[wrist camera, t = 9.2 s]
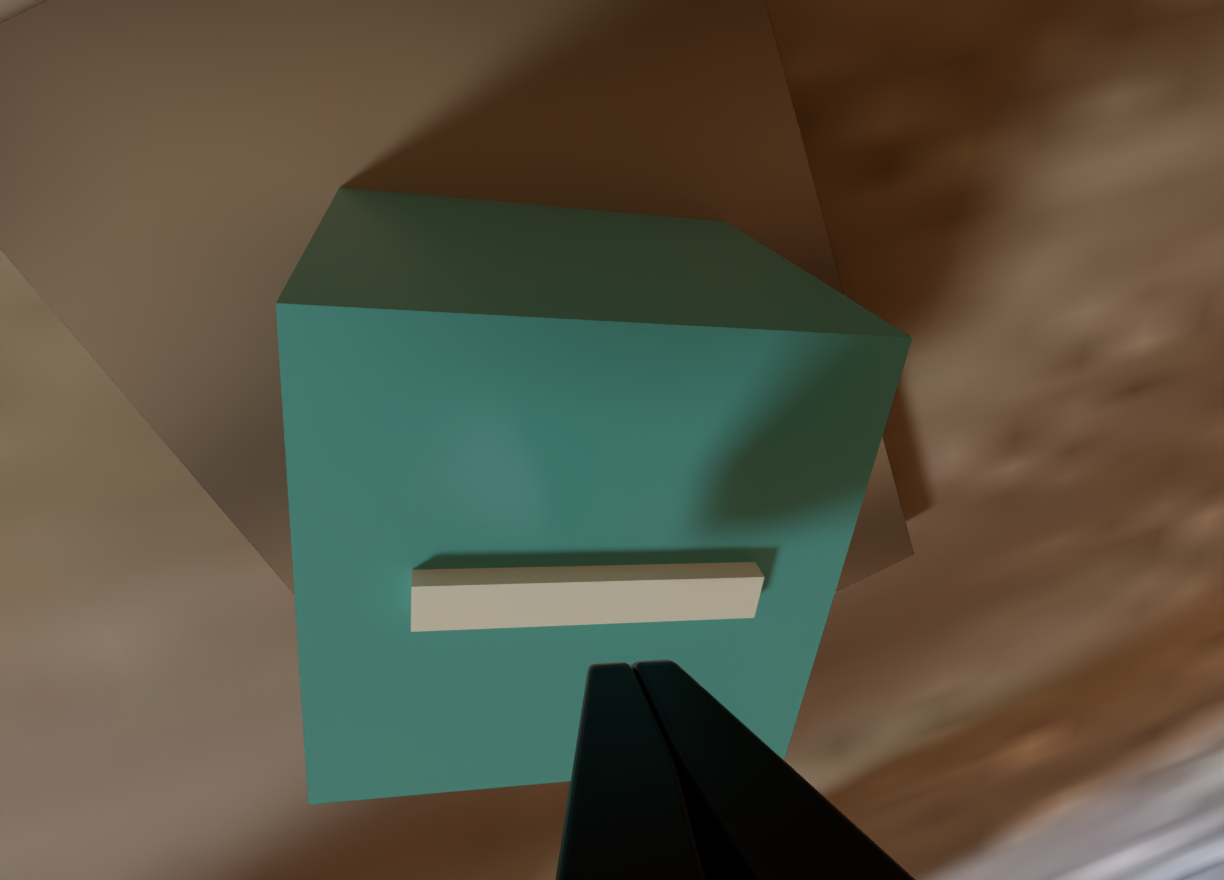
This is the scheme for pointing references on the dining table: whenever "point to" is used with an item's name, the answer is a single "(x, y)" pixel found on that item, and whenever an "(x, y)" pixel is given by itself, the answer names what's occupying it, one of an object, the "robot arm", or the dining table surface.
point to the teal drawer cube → (557, 477)
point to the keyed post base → (362, 176)
